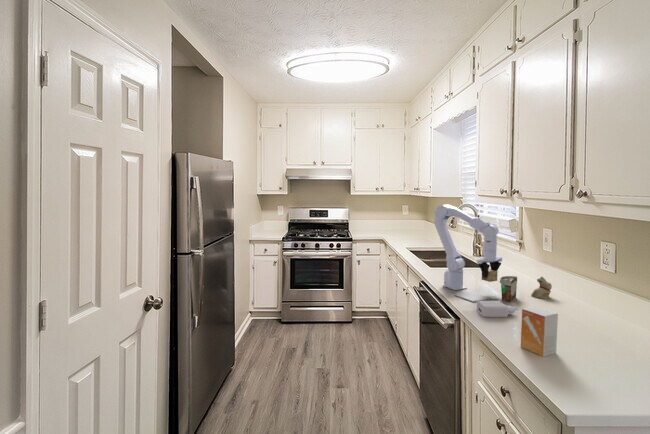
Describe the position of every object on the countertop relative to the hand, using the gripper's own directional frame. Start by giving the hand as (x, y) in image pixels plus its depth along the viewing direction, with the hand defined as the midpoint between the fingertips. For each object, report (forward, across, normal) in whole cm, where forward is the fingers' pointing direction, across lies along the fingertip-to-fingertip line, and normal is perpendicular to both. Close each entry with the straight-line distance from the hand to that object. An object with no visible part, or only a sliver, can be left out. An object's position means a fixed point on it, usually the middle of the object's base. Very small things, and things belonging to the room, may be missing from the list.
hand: (489, 276), depth 184 cm
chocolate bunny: (+9, +19, -14) cm, 25 cm away
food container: (+9, +1, -10) cm, 13 cm away
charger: (+9, -20, -24) cm, 32 cm away
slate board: (+8, -12, -2) cm, 15 cm away
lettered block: (+2, 0, 0) cm, 2 cm away
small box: (+8, -37, -54) cm, 66 cm away
